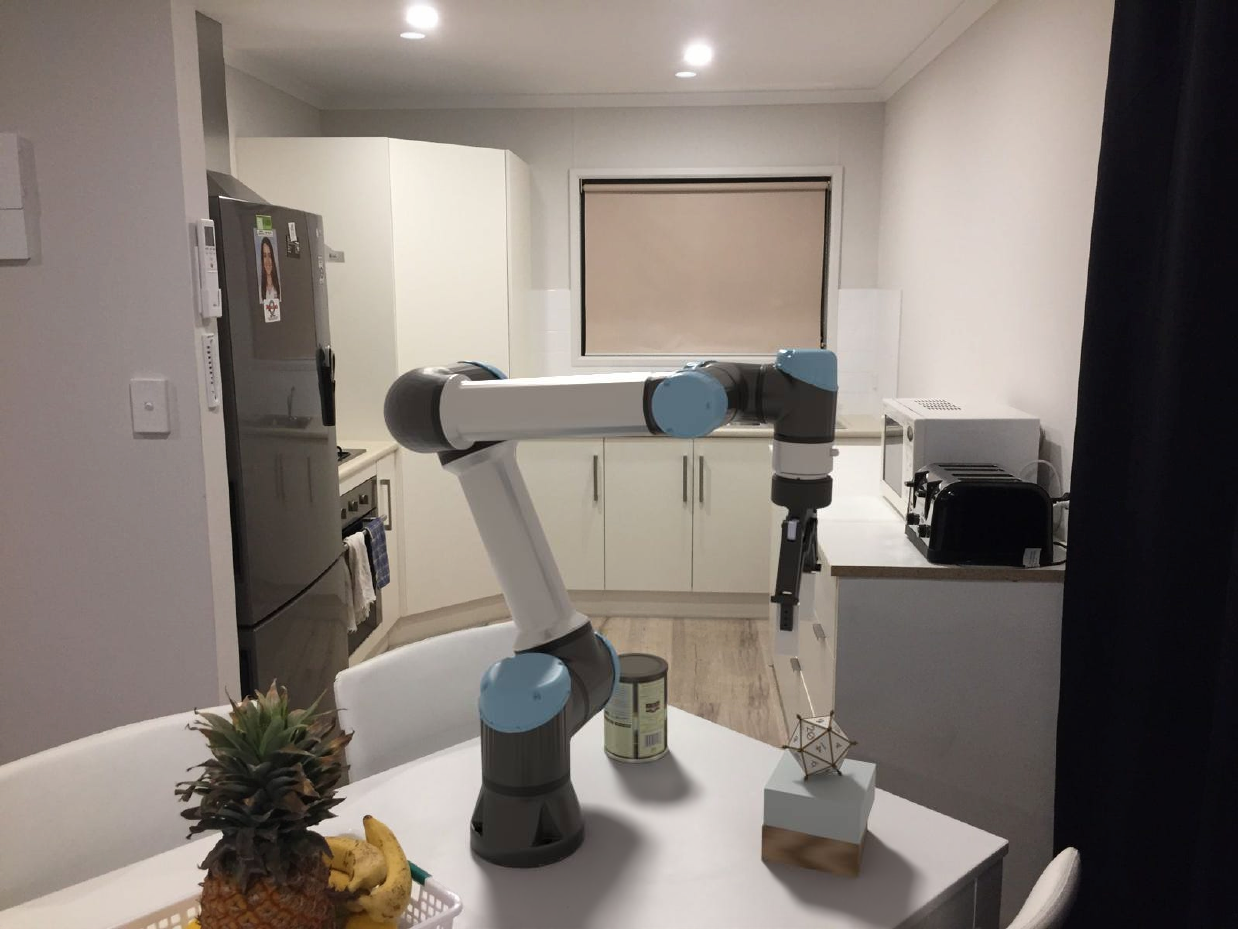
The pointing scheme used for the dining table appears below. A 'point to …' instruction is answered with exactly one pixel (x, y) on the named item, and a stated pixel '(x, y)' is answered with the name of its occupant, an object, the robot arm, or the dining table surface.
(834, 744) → the game die
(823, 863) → the tower base
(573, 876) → the dining table surface
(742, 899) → the dining table surface
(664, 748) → the coffee can
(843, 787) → the tower top
